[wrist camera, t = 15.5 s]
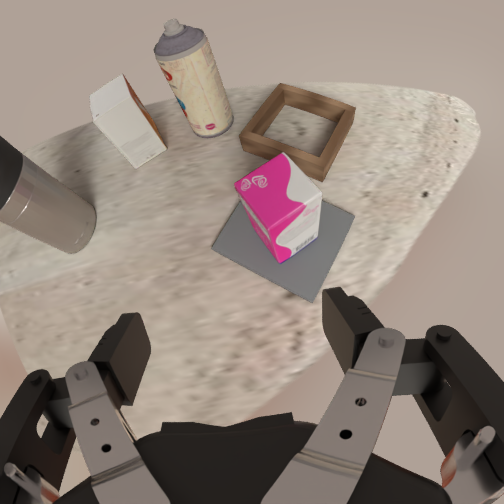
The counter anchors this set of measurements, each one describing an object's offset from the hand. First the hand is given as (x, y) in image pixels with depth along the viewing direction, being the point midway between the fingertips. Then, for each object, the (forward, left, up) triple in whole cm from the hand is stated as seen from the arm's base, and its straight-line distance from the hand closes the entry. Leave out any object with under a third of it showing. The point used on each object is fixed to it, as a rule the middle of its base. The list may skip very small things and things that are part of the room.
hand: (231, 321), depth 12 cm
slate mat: (-4, +11, -21) cm, 24 cm away
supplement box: (-4, +11, -21) cm, 24 cm away
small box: (-32, +15, -22) cm, 42 cm away
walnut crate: (-9, +26, -21) cm, 35 cm away
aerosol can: (-23, +23, -22) cm, 39 cm away
